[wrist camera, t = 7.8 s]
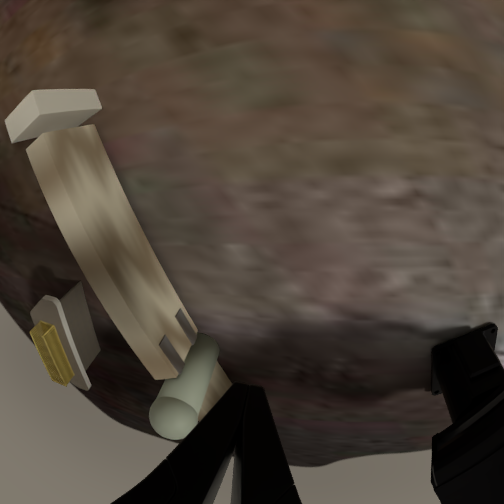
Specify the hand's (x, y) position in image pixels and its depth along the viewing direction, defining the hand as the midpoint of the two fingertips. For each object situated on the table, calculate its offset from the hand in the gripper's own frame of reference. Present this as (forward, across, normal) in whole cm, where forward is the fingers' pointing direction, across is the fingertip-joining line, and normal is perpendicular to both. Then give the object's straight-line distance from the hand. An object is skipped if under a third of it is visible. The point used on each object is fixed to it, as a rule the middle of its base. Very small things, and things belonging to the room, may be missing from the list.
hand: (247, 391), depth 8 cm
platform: (+13, +16, +11) cm, 23 cm away
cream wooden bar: (+11, +9, +2) cm, 15 cm away
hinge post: (+12, +4, +10) cm, 17 cm away
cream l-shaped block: (+12, +14, -6) cm, 19 cm away
